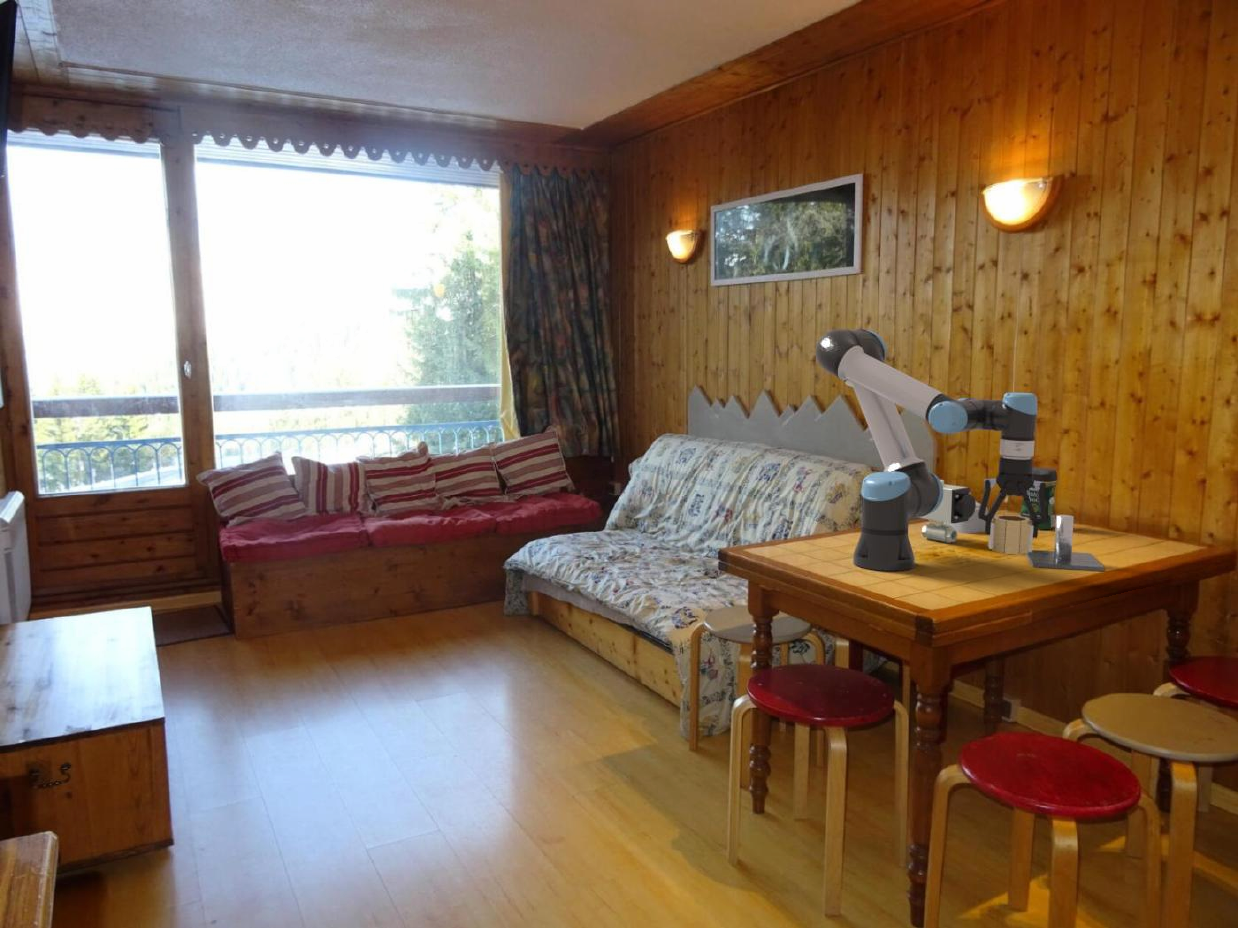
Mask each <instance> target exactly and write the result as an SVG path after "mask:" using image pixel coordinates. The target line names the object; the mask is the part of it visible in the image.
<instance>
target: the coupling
mask: <svg viewBox="0 0 1238 928" xmlns="http://www.w3.org/2000/svg"><path fill="white" fill-rule="evenodd" d="M992 521H994V537H993V549H991V550H992V551H993V552H995V553H996V552H997V553H1001V554H1007V555H1017V556H1018V555H1025V554H1026V553H1028V550H1029V537H1030V524H1031V520H1030V519H1029V518H1026V517H1022V516H1020V515H1013V514H998V515H996V514H995V515H994V517H993V519H992Z"/></svg>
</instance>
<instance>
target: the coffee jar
mask: <svg viewBox="0 0 1238 928" xmlns="http://www.w3.org/2000/svg"><path fill="white" fill-rule="evenodd" d="M1032 477H1033V479H1034V481H1039V482H1041V481H1043V482H1044V483H1045V484H1046V487H1045V491H1044V496H1045V505H1046V513H1047V523H1042V524H1040V525H1039V526H1038V530H1041V529H1042V530H1052V529H1054V528H1055V527H1056V511H1055V491H1056V488H1057V485H1058V472H1057V470H1056V469H1052V468H1047V467H1046V468H1045V467H1035V466H1033V472H1032ZM1027 494H1028V496H1029V499H1030V501H1031V504H1032V506H1033V509H1034V511H1035V514H1036V516H1037V518H1040V511H1039V503H1038V494H1037V490H1036V489H1035V486H1034V485H1032V486H1031V488H1030V489H1029V490H1028V491H1027ZM1019 514H1020V515H1019V516H1022V517H1026V518H1029V519H1030V520H1031V517H1030V515H1029V512H1028V510H1027V507H1026V505H1025V502H1024V500H1023V499H1022V504H1021V510H1020V513H1019ZM1031 523H1032V520H1031Z"/></svg>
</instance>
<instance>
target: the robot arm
mask: <svg viewBox="0 0 1238 928" xmlns="http://www.w3.org/2000/svg"><path fill="white" fill-rule="evenodd" d="M887 349H888V348H887V345H886V343H885V341H884V339H883V338H882V337H881V336H880V335H879V334H878V333H876V332H874V331H872V330H868V329H864V328H857V329H840V328H838V329H836V328H835V329H832V330H829V331H826V333H824V334H822V336H821V337H820V338H819V340H818V341H817V343H816V346H815V353H814V354H815V359H816V361H817V363H818V365H819V367H821V368H822V369H823V370H824V371H826V372H827V373H828V374H831V375H833V376H835V377H837V378H838V379H840V380H842V381H844V383H845V385H846V386H848V387H852V389H853V391H854V394H855V396H856V398H857V401H858V403H859V406H860V408H861V411H862V413H863V416H864V418H865V421H866V423H867V426H868V429H869V431H870V433H871V437H872V439H873V441H874V444H875V446H876V449H877V451H878V454H879V457H880V459H881V461H882V464H883V468H884V470H883V471H879V472H873V473H870V474H868V475H866V476H865V477H863V480H862V485H861V487H862V488H861V493H860V494H861V512H860V513H861V520H860V523H861V524H860V526H861V527H860V536H859V538H858V541H857V543H856V545H855V549H854V553H853V561H852V562H853V564H854V565H855V566H857V567H860V568H863V569H867V570H875V571H887V572H888V571H889V572H893V571H894V572H895V571H898V572H899V571H906V570H910V569H913V568H914V567H915V555H914V551H913V547H912V545H911V540H910V537H909V523H910V521H909V520H911V519H915V518H917V517H923V516H925V515H928V514H929V513H932V512H933V511H935V510H936V509H937V508H938V507H939V505H940V504H941V501H942V499H943V485H942V483H941V481H940V480H941V479H940V478H939V477H938V476H937V474H935V473H932V472H931V471H929V469H928V467H927V464H926V461H925V460H924V459H921V458H919V457H917V455H916V453H915V450H914V448H913V446H912V442H911V441H910V437H909V436H908V433H907V430H906V428H905V426H904V423H903V421H902V417H901V416H900V413H899V411H898V408H897V406H899V407H901V408H903V409H905V410H907V411H908V412H910V413H912V414H914V415H916V416H918V417H920V418H922V419H923V420H925V421H927V422H929V425H930V426H931V428H932V429H933V430H934V431H936V432H937V433H940V434H947V435H954V434H957V433H963V432H969V431H978V430H981V431H995V432H1000V442H999V443H1000V445H999V454H1000V456H1001V457H999V459H998V472H997V476H996V477H995V478H987V477H985V478H984V479H983V482H984V490H983V493H982V498H981V502H980V503H979V504H980V508H979V512H978V517H979V519H982V520H984V521H985V532H984V533H985V535H988V549H989V550H992V549H993V537H994V521H993V518H994V516H996V513H997V512H998V510H999V508H1000V506H1001V505H1002V503H1003V501H1004V499H1006V497H1007V496H1017V497H1022V501H1023V500H1024V502H1025V505H1026V507H1027V510H1028V512H1029V515H1030V517H1031V520H1032V523H1031V524H1030V537H1029V550H1028V552H1032V550H1033V539H1037V538H1038V537H1039V529H1038V526H1039V525H1040V524H1042V523H1047V513H1046V505H1045V496H1044V491H1045V487H1046V484H1045V483H1044V482H1043V481H1041V482H1039V481H1034V479H1033V477H1032V472H1033V467H1034V460H1033V457H1034V455H1035V453H1034V452H1035V443H1036V442H1035V439H1036V437H1035V435H1036V430H1037V429H1036V427H1037V417H1038V414H1039V412H1038V397H1037V395H1036V394H1034V393H1031V392H1030V393H1028V392H1006V393H1004V394H1003V398H1002V399H997V400H995V399H986V398H983V399H982V398H975V397H965V398H964V397H962V398H959V399H955V398H953V397H950V396H949V395H947V394H945V393H943V392H941V391H939V390H937V389H935V388H933V387H931V386H929V385H928V384H926V383H924V382H921V381H920V380H918V379H916V378H914V377H912V376H910V375H908V374H906V373H904V372H902V371H900V370H899V369H896V368H894V367H893V366H890V365H888V364H886V363H885V362H886V357H887V353H888V351H887ZM896 405H897V406H896ZM995 484H997V486H998V487H999V489H1000V490H999V492H998V494H997V497H996V498H995V499H994V502H993V503H992V505H991V507H990V509H989V511H987V515H985V511H986V507H987V506H988V502H989V499H990V495H991V491H992V488H994V487H995ZM1032 485H1034V486H1035V489H1036V490H1037V494H1038V503H1039V511H1040V518H1037V516H1036V514H1035V511H1034V509H1033V506H1032V504H1031V501H1030V499H1029V496H1028V494H1027V491H1028V490H1029V489H1030V488H1031V486H1032ZM987 508H988V507H987Z"/></svg>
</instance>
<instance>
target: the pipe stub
mask: <svg viewBox="0 0 1238 928" xmlns="http://www.w3.org/2000/svg"><path fill="white" fill-rule="evenodd" d="M1074 520H1075V519H1074V516H1073V515H1069V514H1055V533H1054V550H1040V549H1039V550H1037V549H1036V550H1035V549H1032V552H1028V553H1026V554H1024V555H1025V556H1026V558H1027V560H1028V561H1029V564H1030V565H1031V566H1032V568H1043V569H1058V570H1059V569H1062V570H1075V571H1076V570H1078V571H1092V572H1093V571H1095V572H1104V569H1105V567H1104V566H1103V564H1101V562H1100V561H1099V560H1098V559H1097V558H1096V557H1095V556H1094V554H1092V553H1091V552H1077V551H1076V552H1075V551H1072V550H1073V534H1074V533H1073V532H1074Z"/></svg>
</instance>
